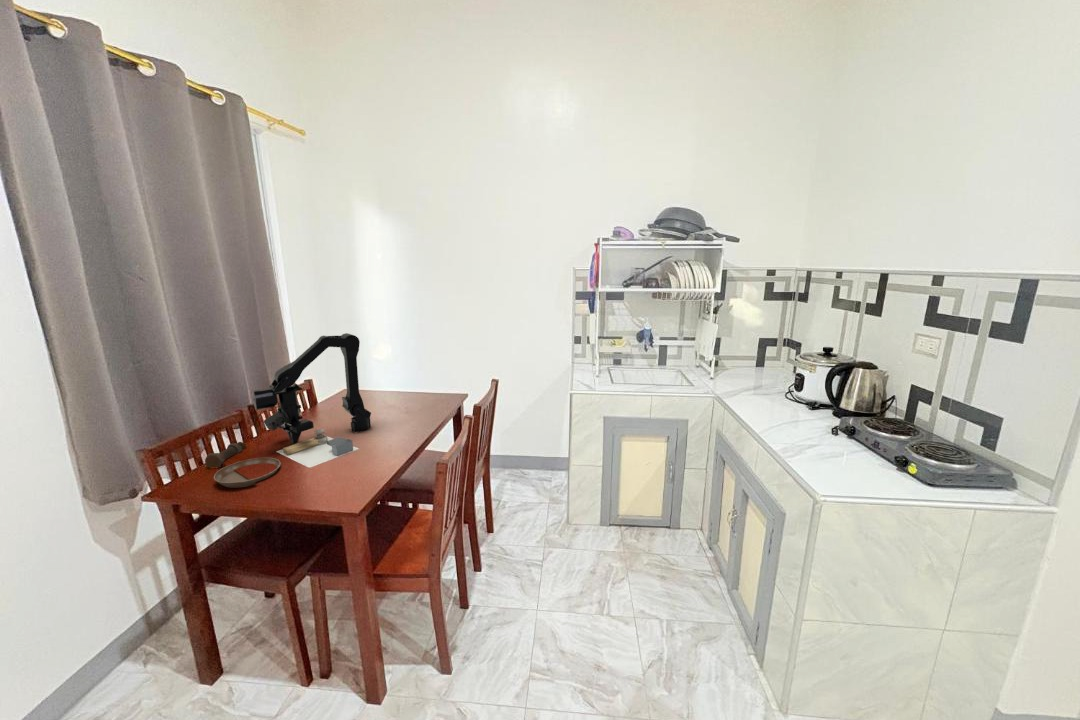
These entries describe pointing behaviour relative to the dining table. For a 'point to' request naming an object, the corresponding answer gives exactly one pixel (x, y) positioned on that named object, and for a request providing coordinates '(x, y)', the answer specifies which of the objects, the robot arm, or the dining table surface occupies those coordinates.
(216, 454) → the bolt
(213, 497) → the dining table surface
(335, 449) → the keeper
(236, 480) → the plant saucer
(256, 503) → the dining table surface
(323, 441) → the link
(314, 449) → the base plate
